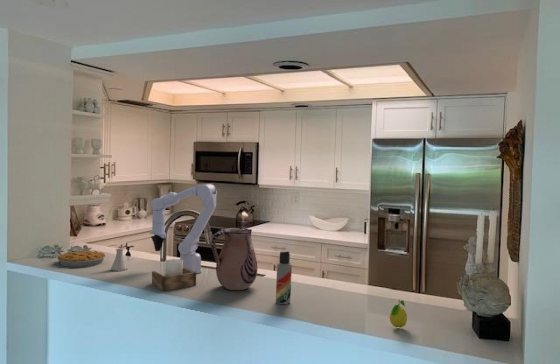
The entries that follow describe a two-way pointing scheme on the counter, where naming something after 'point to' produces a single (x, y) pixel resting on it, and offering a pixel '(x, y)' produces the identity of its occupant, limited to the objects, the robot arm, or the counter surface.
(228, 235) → the ceramic pitcher
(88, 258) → the pie
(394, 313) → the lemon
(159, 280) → the wooden box
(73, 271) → the counter surface
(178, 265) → the white cup
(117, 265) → the flask
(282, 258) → the lotion bottle
